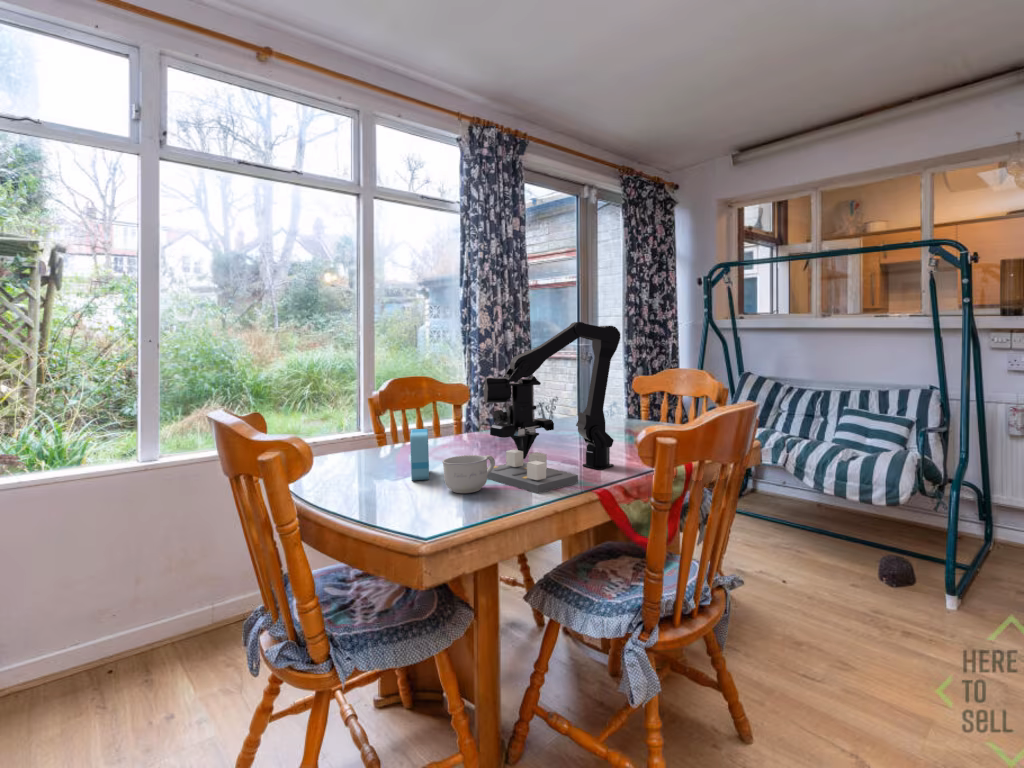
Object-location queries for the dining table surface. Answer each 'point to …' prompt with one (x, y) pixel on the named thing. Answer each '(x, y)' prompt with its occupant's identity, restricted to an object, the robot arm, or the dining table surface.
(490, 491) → the dining table surface
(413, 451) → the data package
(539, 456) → the tab middle
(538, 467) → the tab
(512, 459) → the tab
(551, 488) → the switch panel
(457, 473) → the teacup
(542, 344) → the robot arm
